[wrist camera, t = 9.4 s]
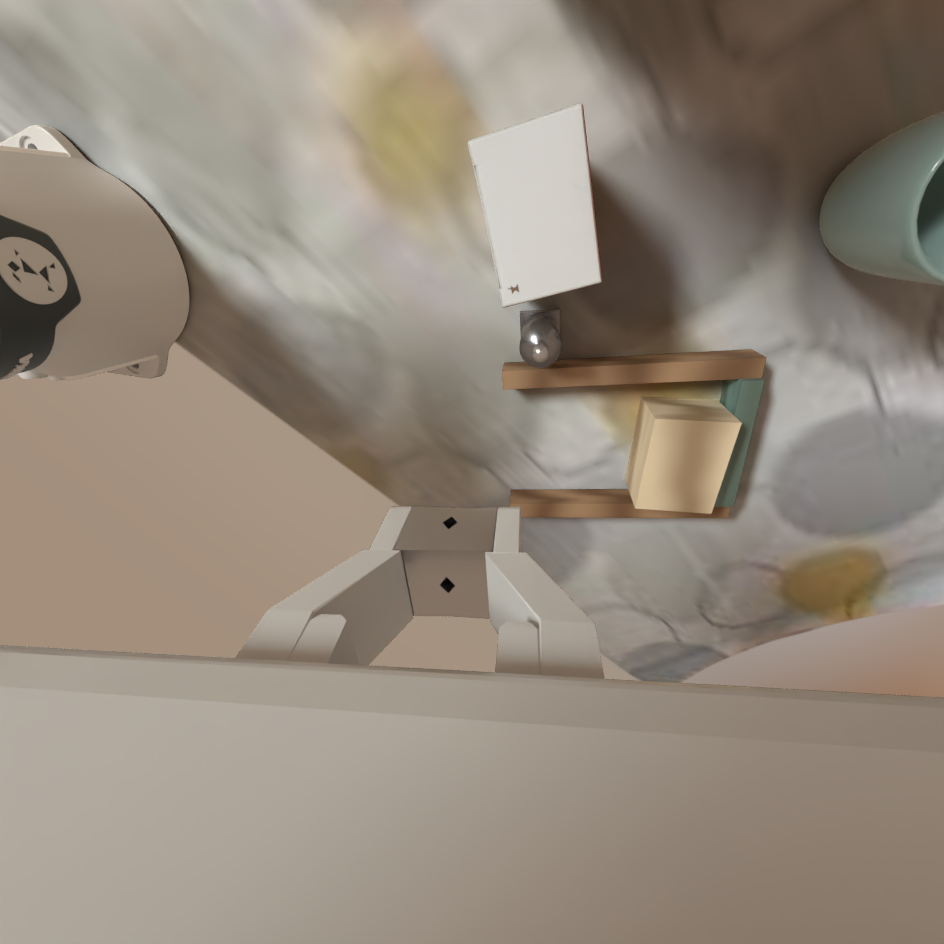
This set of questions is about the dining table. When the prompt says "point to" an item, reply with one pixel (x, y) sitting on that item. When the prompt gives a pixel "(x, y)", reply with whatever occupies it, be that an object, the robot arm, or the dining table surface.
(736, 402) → the bay
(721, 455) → the tan tapered block
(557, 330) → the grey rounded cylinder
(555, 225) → the small box
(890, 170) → the cup
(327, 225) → the dining table surface
